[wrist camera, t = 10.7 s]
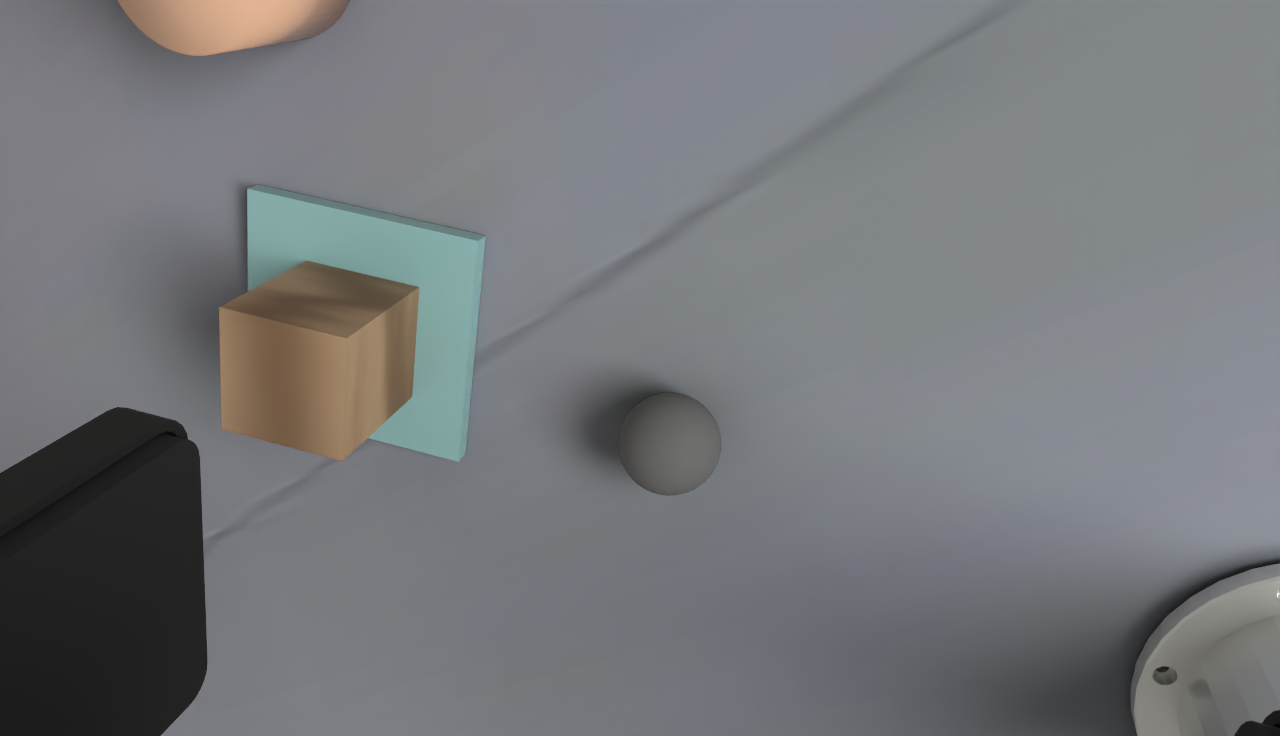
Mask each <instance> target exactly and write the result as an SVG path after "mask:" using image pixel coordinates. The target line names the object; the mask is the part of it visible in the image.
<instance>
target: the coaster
mask: <svg viewBox="0 0 1280 736" xmlns="http://www.w3.org/2000/svg"><path fill="white" fill-rule="evenodd" d="M247 233H248V291H250V290H252V289H254V288H256V287H258V286H260V285H261V284H263V283H265V282H267V281H269V280H271V279H273V278H275V277H277V276H278V275H280V274H282V273H284V272H286V271H288V270H290V269H292V268H293V267H295V266H297V265H299V264H301V263H303V262H305V261H311V262H315V263H320V264H324V265H328V266H332V267H337V268H341V269H345V270H349V271H354V272H358V273H362V274H366V275H371V276H375V277H379V278H384V279H388V280H392V281H396V282H401V283H405V284H409V285H413V286H418V287H419V301H418V317H417V332H416V348H415V363H414V378H413V394H412V398H411V399H409V400H408V401H407V402H406V403H405V404H404V405H403V406H402V407H401V408H400V409H399V410H398V411H396V412H395V413H394V414H393V415H392V416H391V417H390V418H389V419H388V420H387V421H386V422H384V423H383V424H382V425H381V426H380V427H379V428H378V429H377V430H376V431H375V432H374V433H373V434H371V435H370V436H369V437H368V438H370V439H374V440H377V441H381V442H385V443H389V444H393V445H396V446H400V447H404V448H408V449H412V450H415V451H419V452H423V453H427V454H431V455H434V456H438V457H442V458H446V459H450V460H454V461H457V462H459V461H460V459H461V458H462V457H463V456H464V455H465V454H466V444H467V433H468V422H469V412H470V401H471V390H472V379H473V369H474V358H475V347H476V336H477V325H478V315H479V304H480V293H481V282H482V272H483V261H484V250H485V239H486V236H485V235H480V234H476V233H471V232H467V231H463V230H458V229H454V228H449V227H445V226H440V225H436V224H432V223H427V222H423V221H418V220H414V219H409V218H405V217H400V216H396V215H392V214H387V213H383V212H378V211H374V210H369V209H365V208H360V207H356V206H352V205H347V204H343V203H338V202H334V201H329V200H325V199H320V198H316V197H312V196H307V195H303V194H298V193H294V192H289V191H285V190H281V189H276V188H272V187H267V186H263V185H256V186H253V187H250V188H248V189H247Z"/></svg>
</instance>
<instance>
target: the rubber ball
mask: <svg viewBox="0 0 1280 736" xmlns="http://www.w3.org/2000/svg"><path fill="white" fill-rule="evenodd" d="M618 445H619V454H620V458H621V461H622V464H623V466H624V468H625V470H626V471H627V473H628V474H629V476H630V477H631V478H632V479H633V480H634V481H635V482H636V483H637V484H638V485H640V486H641V487H643V488H644V489H646V490H648V491H650V492H653V493H656V494H661V495H678V494H683V493H687V492H689V491H692V490H694V489H695V488H697V487H699V486H700V485H701V484H703V483H704V482H705V481H706V480H707V479H708V478H709V476H710V475H711V474H712V472H713V471H714V469H715V467H716V465H717V463H718V460H719V456H720V451H721V437H720V432H719V428H718V426H717V423H716V421H715V419H714V417H713V416H712V414H711V413H710V412H709V410H708V409H707V408H706V407H705V406H704V405H702V404H701V403H700V402H698V401H697V400H695V399H693V398H691V397H689V396H686V395H683V394H679V393H661V394H656V395H653V396H650V397H648V398H646V399H644V400H643V401H641V402H640V403H638V404H637V405H636V406H635V407H634V408H633V409H632V410H631V411H630V412H629V414H628V415H627V416H626V418H625V420H624V422H623V424H622V427H621V430H620V434H619V442H618Z"/></svg>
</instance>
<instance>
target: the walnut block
mask: <svg viewBox="0 0 1280 736" xmlns="http://www.w3.org/2000/svg"><path fill="white" fill-rule="evenodd" d="M418 301H419V287H418V286H413V285H409V284H405V283H401V282H396V281H392V280H388V279H384V278H379V277H375V276H371V275H366V274H362V273H358V272H354V271H349V270H345V269H341V268H337V267H332V266H328V265H324V264H320V263H315V262H311V261H305V262H303V263H301V264H299V265H297V266H295V267H293V268H292V269H290V270H288V271H286V272H284V273H282V274H280V275H278V276H277V277H275V278H273V279H271V280H269V281H267V282H265V283H263V284H261V285H260V286H258V287H256V288H254V289H252V290H250V291H248V292H246V293H245V294H243V295H241V296H239V297H237V298H235V299H233V300H231V301H230V302H228V303H226V304H224V305H222V306H220V307H219V329H220V377H221V425H222V429H223V430H227V431H231V432H235V433H239V434H242V435H246V436H250V437H254V438H257V439H261V440H265V441H269V442H272V443H276V444H280V445H284V446H287V447H291V448H295V449H299V450H302V451H306V452H310V453H314V454H318V455H321V456H325V457H329V458H333V459H336V460H340V461H343V460H344V459H345V458H346V457H348V456H349V455H350V454H351V453H352V452H353V451H354V450H355V449H356V448H357V447H358V446H359V445H361V444H362V443H363V442H364V441H365V440H366V439H367V438H368V437H369V436H370V435H371V434H373V433H374V432H375V431H376V430H377V429H378V428H379V427H380V426H381V425H382V424H383V423H384V422H386V421H387V420H388V419H389V418H390V417H391V416H392V415H393V414H394V413H395V412H396V411H398V410H399V409H400V408H401V407H402V406H403V405H404V404H405V403H406V402H407V401H408V400H409V399H411V398H412V394H413V378H414V363H415V348H416V332H417V317H418Z"/></svg>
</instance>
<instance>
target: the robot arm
mask: <svg viewBox="0 0 1280 736" xmlns="http://www.w3.org/2000/svg"><path fill="white" fill-rule="evenodd" d="M206 671H207V639H206V612H205V585H204V558H203V531H202V504H201V477H200V456H199V450H198V448H197V446H196V444H195V443H193V442H192V441H190V440H188V437H187V433H186V431H185V429H184V427H183V425H181V424H180V423H178V422H177V421H175V420H171V419H167V418H163V417H159V416H156V415H152V414H148V413H144V412H140V411H136V410H133V409H129V408H121V407H117V408H114V409H111V410H109V411H107V412H105V413H103V414H101V415H100V416H98V417H96V418H94V419H93V420H91V421H89V422H88V423H86V424H84V425H82V426H81V427H79V428H77V429H76V430H74V431H72V432H70V433H69V434H67V435H65V436H63V437H62V438H60V439H58V440H57V441H55V442H53V443H51V444H50V445H48V446H46V447H45V448H43V449H41V450H39V451H38V452H36V453H34V454H32V455H31V456H29V457H27V458H26V459H24V460H22V461H20V462H19V463H17V464H15V465H13V466H12V467H10V468H8V469H7V470H5V471H3V472H1V473H0V736H161V735H162V734H163V732H164V731H165V730H166V729H167V728H168V727H169V726H170V725H171V724H172V723H173V722H174V721H175V720H176V719H177V718H178V717H179V716H180V715H181V714H182V712H183V711H184V710H185V709H186V708H187V707H188V706H189V705H190V704H191V703H192V701H193V700H194V699H195V698H196V696H197V694H198V692H199V691H200V689H201V686H202V684H203V682H204V679H205V675H206ZM1131 712H1132V716H1133V720H1134V724H1135V728H1136V732H1137V736H1280V563H1279V564H1274V565H1269V566H1264V567H1259V568H1254V569H1251V570H1248V571H1245V572H1242V573H1240V574H1237V575H1234V576H1231V577H1229V578H1226V579H1223V580H1220V581H1218V582H1216V583H1215V584H1213V585H1211V586H1209V587H1208V588H1206V589H1204V590H1202V591H1200V592H1199V593H1197V594H1195V595H1193V596H1191V597H1190V598H1189V599H1187V600H1186V601H1185V602H1184V603H1182V604H1181V605H1180V606H1179V607H1178V608H1176V609H1175V610H1174V611H1173V612H1171V613H1170V614H1169V615H1168V616H1167V617H1166V618H1165V619H1164V620H1163V621H1162V623H1161V624H1160V625H1159V626H1158V627H1157V629H1156V630H1155V631H1154V632H1153V633H1152V635H1151V636H1150V637H1149V638H1148V640H1147V642H1146V644H1145V646H1144V648H1143V650H1142V652H1141V654H1140V656H1139V658H1138V660H1137V662H1136V666H1135V670H1134V674H1133V678H1132V682H1131Z"/></svg>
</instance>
